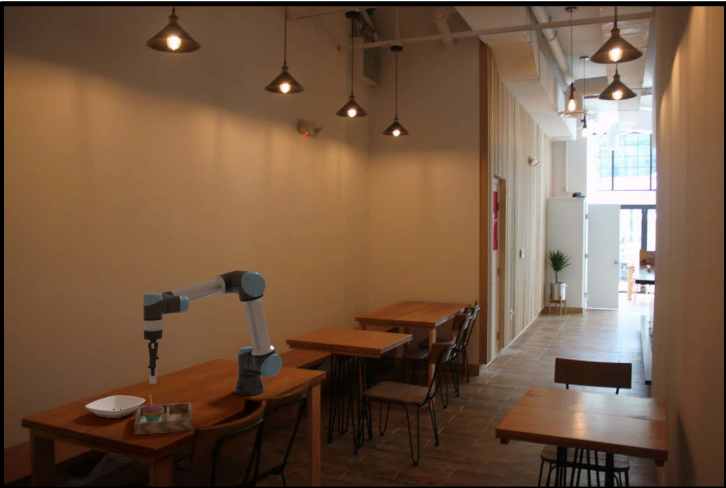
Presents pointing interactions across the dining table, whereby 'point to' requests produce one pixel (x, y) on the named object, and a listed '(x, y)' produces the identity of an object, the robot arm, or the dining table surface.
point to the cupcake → (153, 412)
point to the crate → (165, 419)
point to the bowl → (115, 406)
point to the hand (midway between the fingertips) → (153, 379)
